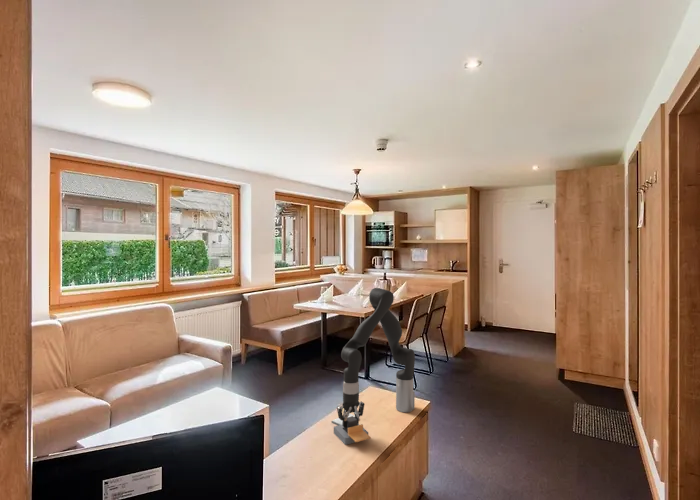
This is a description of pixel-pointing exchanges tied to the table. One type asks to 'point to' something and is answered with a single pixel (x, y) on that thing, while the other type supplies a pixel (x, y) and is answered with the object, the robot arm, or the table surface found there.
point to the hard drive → (340, 422)
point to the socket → (344, 434)
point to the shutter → (358, 433)
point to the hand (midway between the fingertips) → (350, 426)
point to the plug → (351, 422)
